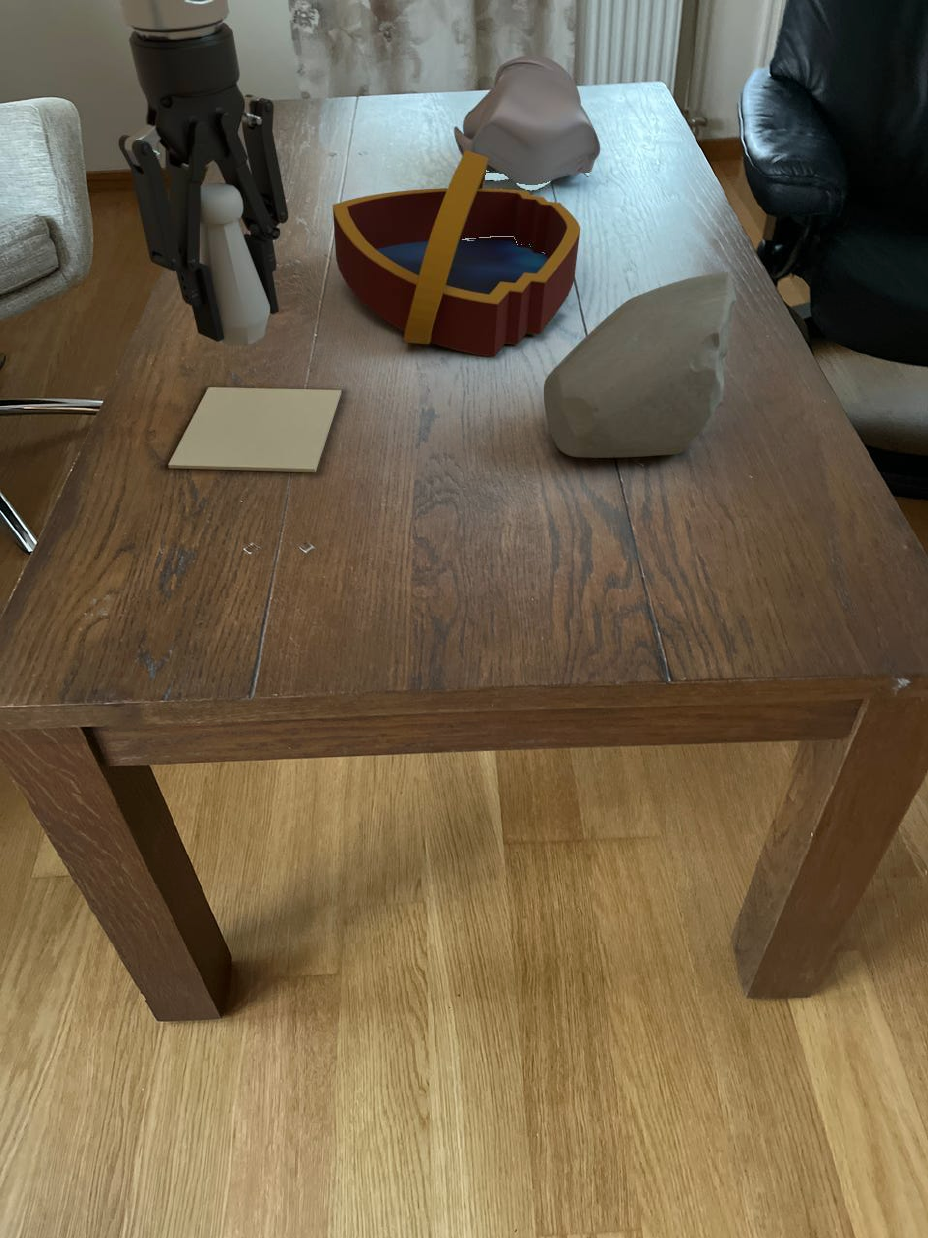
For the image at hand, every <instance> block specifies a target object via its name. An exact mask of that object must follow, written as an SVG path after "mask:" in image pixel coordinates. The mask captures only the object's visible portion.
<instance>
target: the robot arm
mask: <svg viewBox="0 0 928 1238" xmlns="http://www.w3.org/2000/svg"><path fill="white" fill-rule="evenodd" d="M118 1H119V6H120V11H121V15H122V19H123V22H124V23H125V24H126V25H127V26H128V27H130V28H131V29H132V30H133V31H132V32H131V34H130V37H129V38H128V42H129V46H130V50H131V54H132V59H133V64H134V67H135V71H136V77H137V81H138V84H139V86H140V88H141V91H142V93H143V95H144V97H145V99H146V103H147V104H146V106H147V107H146V108H147V109H146V115H145V124H146V125H145V126H144V127H143V128H141V129H140V130H138V131H137V132H136V133H135V134H134V135H132V136H131V135H127V134H123V135H121V136H120V137H119V139H118V148H119V150H120V152H121V153H122V156H123V158H124V160H125V161H126V163H127V164H128V166H129V169H130V172H131V176H132V181H133V185H134V190H135V195H136V200H137V205H138V208H139V209H138V210H139V214H140V218H141V223H142V228H143V233H144V238H145V243H146V246H147V252H148V256H149V260H150V262H152V263H153V264H155V265H157V266H159V267H162V268H164V269H166V270H169V271H172V272H175V273H176V277H177V283H178V286H179V289H180V293H181V297H182V300H183V301H184V303H185V304H187V305H189V306H191V308H192V313H193V317H194V321H195V325H196V329H197V334H199V335H201V336H204V337H206V338H208V339H210V340H212V341H214V342H217V343H219V342H221V341H222V340H223V339H225V338H224V334H223V329H222V324H221V320H220V315H219V311H218V306H217V301H216V297H215V292H214V287H213V283H212V278H211V274H210V269H209V266H206V265H204V264H202V262H201V261H200V260H201V230H200V213H201V185H202V183H203V182H204V181H205V179H206V166H208V165H209V164H210V163H212V162H214V163H216V165H217V167H218V169H219V171H220V174H221V176H222V178H223V181H224V183H227V184H230V185H233V186H234V187H235V188H236V189H237V190H238V191H239V192H240V195H241V198H242V202H243V213H242V215H241V217H240V218H241V219H242V222H243V224H244V226H245V229H246V231H248V232H249V233H250V234H249V233H247V232H246V233H243V236H244V239H245V242H246V245H247V247H248V250H249V253H250V255H251V258H252V260H253V263H254V266H255V268H256V271H257V273H258V276H259V279H260V281H261V284H262V287H263V289H264V292H265V294H266V297H267V300H268V302H269V305H270V314H271V315H275V314H277V313H279V312H280V308H279V304H278V297H277V292H276V286H275V279H274V273H273V272H275V271H277V263H278V262H277V257H276V252H275V247H274V246H275V245H274V241H276V240H278V239H279V237H280V236H281V228H280V227H278V226H279V225H280V224H283V225H284V224H285V223H287V222H288V220H289V210H288V205H287V200H286V194H285V189H284V184H283V179H282V173H281V169H280V164H279V157H278V153H277V147H276V143H275V138H274V132H273V129H274V127H273V126H274V110H275V108H274V107H275V106H274V103H273V101H272V100H271V99H269V98H265V97H261V96H257V95H254V94H249V93H247V94H245V95H244V94H243V93H242V91H241V90H240V88H239V85H238V84H237V83H238V82H239V79H240V75H241V74H240V73H241V72H240V66H239V61H238V54H237V49H236V43H235V36H234V31H233V29H232V28H231V27H230V26H229V25H228V24H227V23H226V22H224V21H225V20H227V18H228V16H229V14H230V10H229V3H228V0H118ZM240 126H241V129H242V136H243V140H244V145H245V147H244V145H243V142H242V140H241V137H240V135H239V130H240ZM159 145H161V146H162V147H164V151H165V152H164V153H165V159H164V161H165V163H164V164H165V165H164V167H165V172H166V173H167V175H168V180H169V181H168V183H169V185H168V189H169V191H168V189H167V184H166V179H165V174H164V171H163V167H162V165H161V162H160V161H161V160H162V158H163V155H162V153H161V152H160V150H159ZM245 149H246V150H245ZM247 161H248V162H247ZM248 164H249V165H248ZM186 165H187V166H186ZM168 193H169V195H168ZM270 314H269V315H270Z"/></svg>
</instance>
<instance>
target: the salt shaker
mask: <svg viewBox="0 0 928 1238" xmlns="http://www.w3.org/2000/svg"><path fill="white" fill-rule="evenodd" d="M242 213H243V202H242V198H241V195H240V192H239V191H238V190H237V189H236V188H235V187H234V186H233V185H230V184H227V183H225V182H209V183H205V184H201V213H200V257H201V264H204V265H206V266H209V269H210V274H211V278H212V283H213V287H214V292H215V297H216V301H217V306H218V311H219V315H220V320H221V324H222V329H223V334H224V338H225V339H223V340H221V341H222V342H223V343H225V344H226V345H227V346H251V344H254V343H255V342H258V341H259V340H261V339H263V338H264V337H265V333H266V328H267V326H268V325H267V324H268V319H269V318H270V317H269V316H270V305H269V302H268V300H267V297H266V294H265V292H264V289H263V287H262V284H261V281H260V279H259V276H258V273H257V271H256V268H255V266H254V263H253V260H252V258H251V255H250V253H249V250H248V247H247V245H246V242H245V239H244V236H243V235H244V233H243V231H242V228H241V225H240V222H239V220H238V219H240V218H241V215H242Z"/></svg>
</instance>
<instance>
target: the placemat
mask: <svg viewBox="0 0 928 1238" xmlns="http://www.w3.org/2000/svg"><path fill="white" fill-rule="evenodd" d="M341 396H342V390H341V389H315V388H313V389H311V388H307V389H304V388H267V387H266V388H265V387H264V388H262V387H261V388H260V387H222V386H221V387H219V386H218V387H216V386H208V387H207V390H206V392H205V393H204V395H203V397H202V399H201V401H200V403H199V404H198V407H197V408H196V411H195V412H194V414H193V416H192V418H191V420H190V422H189V424H188V425H187V428H186V430H185V431H184V433H183V435H182V438H181V439H180V441H179V442H178V444H177V447H176V449H175V451H174V453H173V455H172V456H171V458H170V461H169V462H168V464H167V466H168V469H182V470H215V471H216V470H217V471H253V472H285V473H287V472H288V473H289V472H290V473H316V472H317V469H318V466H319V463H320V461H321V460H320V459H321V457H322V454H323V451H324V448H325V445H326V443H327V442H326V441H327V438H328V435H329V432H330V430H331V426H332V423H333V421H334V418H335V414H336V411H337V408H338V405H339V401H340V398H341Z"/></svg>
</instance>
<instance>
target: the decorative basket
mask: <svg viewBox="0 0 928 1238" xmlns="http://www.w3.org/2000/svg"><path fill="white" fill-rule="evenodd" d="M487 163H488V158H487V157H485V156H482V155H479V154H476V153H473V152H470V151H467V150H465V152H464V154H463V156H462V155H461V159H460V161H459V163H458V165H457V168H456V170H455V171H454V172H453V173H454V174H453V175H452V178H451V180H450V182H449V185H448V186H447V187H442V188H441V187H439V188H423V189H422V188H421V189H408V190H397V191H390V192H384V193H376V194H371V195H365V196H361V197H357V198H352V199H347V200H345V201H341V202H338V203H334V204H332V217H333V232H334V233H333V234H334V250H335V261H336V263H337V264H336V265H337V267H338V270H339V272H340V274H341V276H342V278H343V280H344V281H345V283H346V285H347V286H348V287H349V289H350V290H351V292H352V293H353V294H354V295H355V297H356V298H358V300H359V301H360V302H362V303H363V304H364V305H365V306H366V307H367V308H368V309H369V310H370V311H372V312H373V313H375V314H376V315H378V316H379V317H380V318H381V319H383V320H385V321H387V322H388V323H389V324H391V325H393V326H394V327H396V328H398V329H399V330H401V331H404V335H403V341H404V343H408V344H420V345H430V344H435V345H437V346H441V347H443V348H444V347H445V348H447V349H451V350H456V351H460V352H463V353H467V354H474V355H479V356H485V357H493V358H494V357H495V356H496V355H497V354H498V353H499V351H500V350H501V349H503V347H504V345H505V344H507V345H508V344H509V345H515V346H516V345H519V343H520V342H521V340H522V339H523V338H524V337H525V335H526V334H528V335H530V334H531V335H537V336H538V335H541V334H542V332H543V331H544V329H545V328H546V327H547V326H548V324H550V322H551V321H552V320H553V318H554V317H555V316H556V314H557V313H558V311H559V310H560V309H561V307H562V306H563V304H564V303H565V301H566V300H567V298H568V296H569V294H570V292H571V289H572V288H573V285H574V282H575V277H576V269H577V261H578V252H579V246H580V245H579V244H580V237H581V226H580V224H579V222H578V221H577V219H576V218H575V217H574V215H573V214H572V213H571V212H570V211H569V210H568V209H567V208H566V207H565V206H564V205H563V204H562V203H561V202H556V201H554V202H553V201H548V200H547V199H546V198H545V197H544V196H537V195H536V196H535V195H532V193H530V191H526V190H523V189H511V188H509V189H508V188H490V187H484V185H485V181H486V180H485V175H486V169H487ZM490 236H514V237H515V239H516V240H515V239H514V237H491V238H479V237H490ZM465 238H476V239H469V240H474V241H467V240H462V239H465ZM516 241H517V243H516ZM517 244H518V245H517ZM521 244H522V245H521ZM529 244H530V245H529ZM530 246H531V247H530ZM542 252H544V253H545V254H544V253H542Z"/></svg>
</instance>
